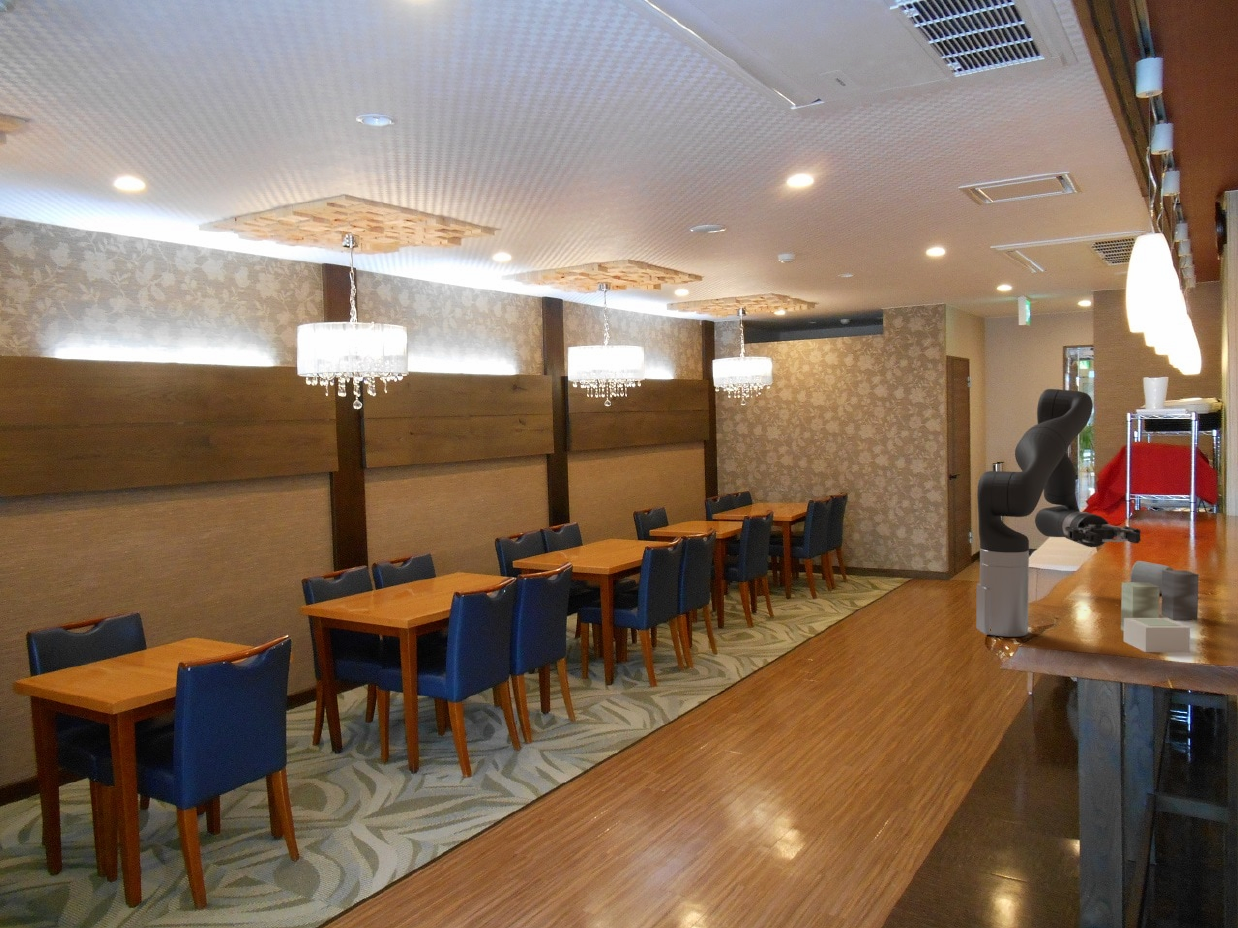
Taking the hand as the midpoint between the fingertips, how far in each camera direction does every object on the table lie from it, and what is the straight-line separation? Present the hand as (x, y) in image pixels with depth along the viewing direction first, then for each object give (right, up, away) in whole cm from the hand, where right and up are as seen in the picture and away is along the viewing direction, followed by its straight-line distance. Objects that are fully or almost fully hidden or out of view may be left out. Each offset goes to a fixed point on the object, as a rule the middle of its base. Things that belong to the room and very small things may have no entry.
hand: (1116, 538), depth 190 cm
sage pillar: (-1, -18, -10) cm, 21 cm away
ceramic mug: (+27, -16, +31) cm, 44 cm away
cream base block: (-4, -19, -21) cm, 29 cm away
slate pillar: (+16, -18, +3) cm, 24 cm away
